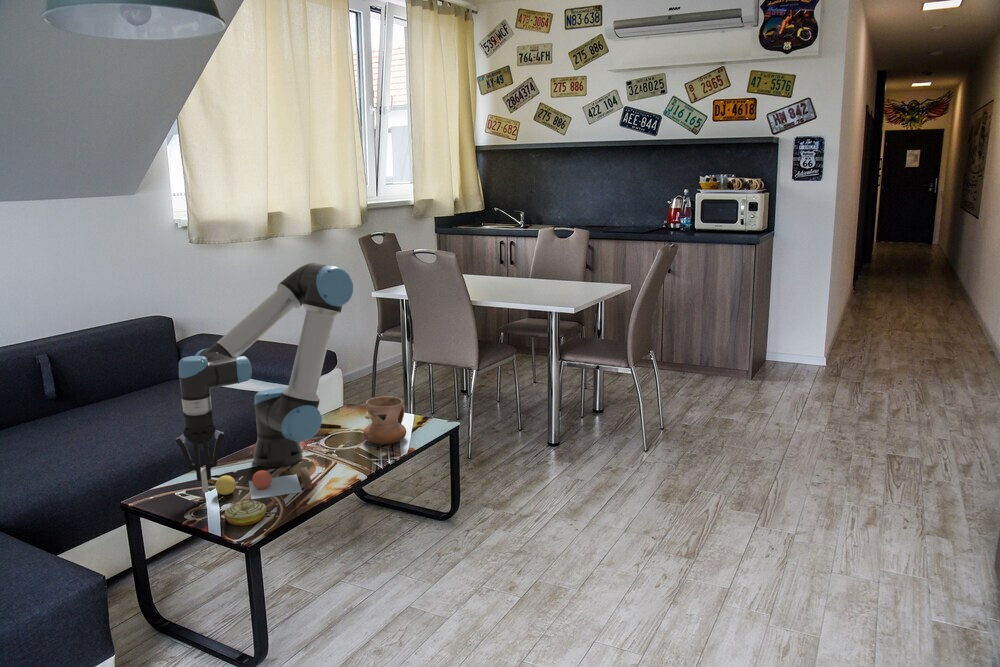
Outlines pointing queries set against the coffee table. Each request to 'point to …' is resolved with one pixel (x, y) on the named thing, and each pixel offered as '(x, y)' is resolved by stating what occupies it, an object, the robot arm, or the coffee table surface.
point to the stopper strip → (305, 478)
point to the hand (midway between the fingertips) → (205, 490)
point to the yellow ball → (225, 485)
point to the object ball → (262, 479)
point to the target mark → (277, 487)
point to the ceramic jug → (385, 420)
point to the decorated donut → (245, 513)
